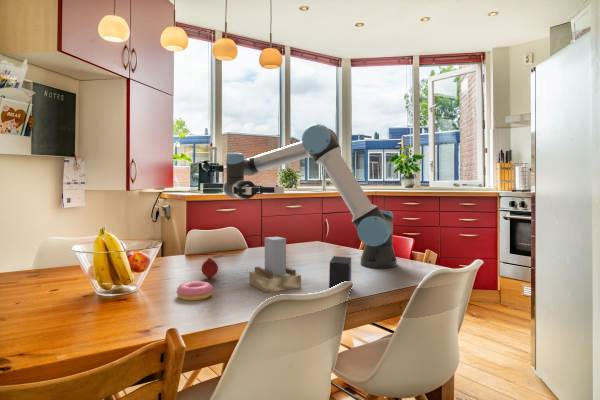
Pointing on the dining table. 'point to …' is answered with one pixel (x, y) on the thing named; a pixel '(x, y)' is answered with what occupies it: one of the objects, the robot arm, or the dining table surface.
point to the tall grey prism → (275, 255)
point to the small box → (339, 270)
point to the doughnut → (194, 290)
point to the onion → (209, 268)
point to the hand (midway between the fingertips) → (267, 190)
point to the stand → (274, 280)
